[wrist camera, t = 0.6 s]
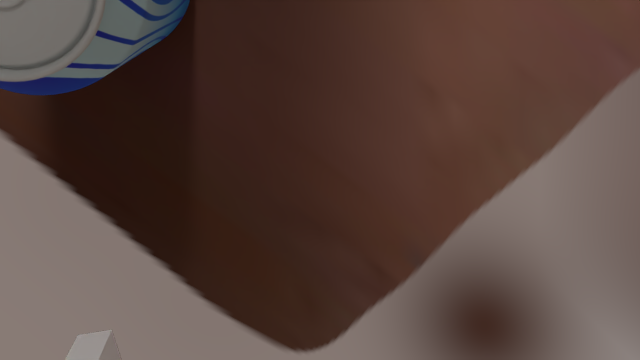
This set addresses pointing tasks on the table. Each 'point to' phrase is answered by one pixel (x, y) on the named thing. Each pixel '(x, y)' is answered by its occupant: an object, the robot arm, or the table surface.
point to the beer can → (77, 40)
